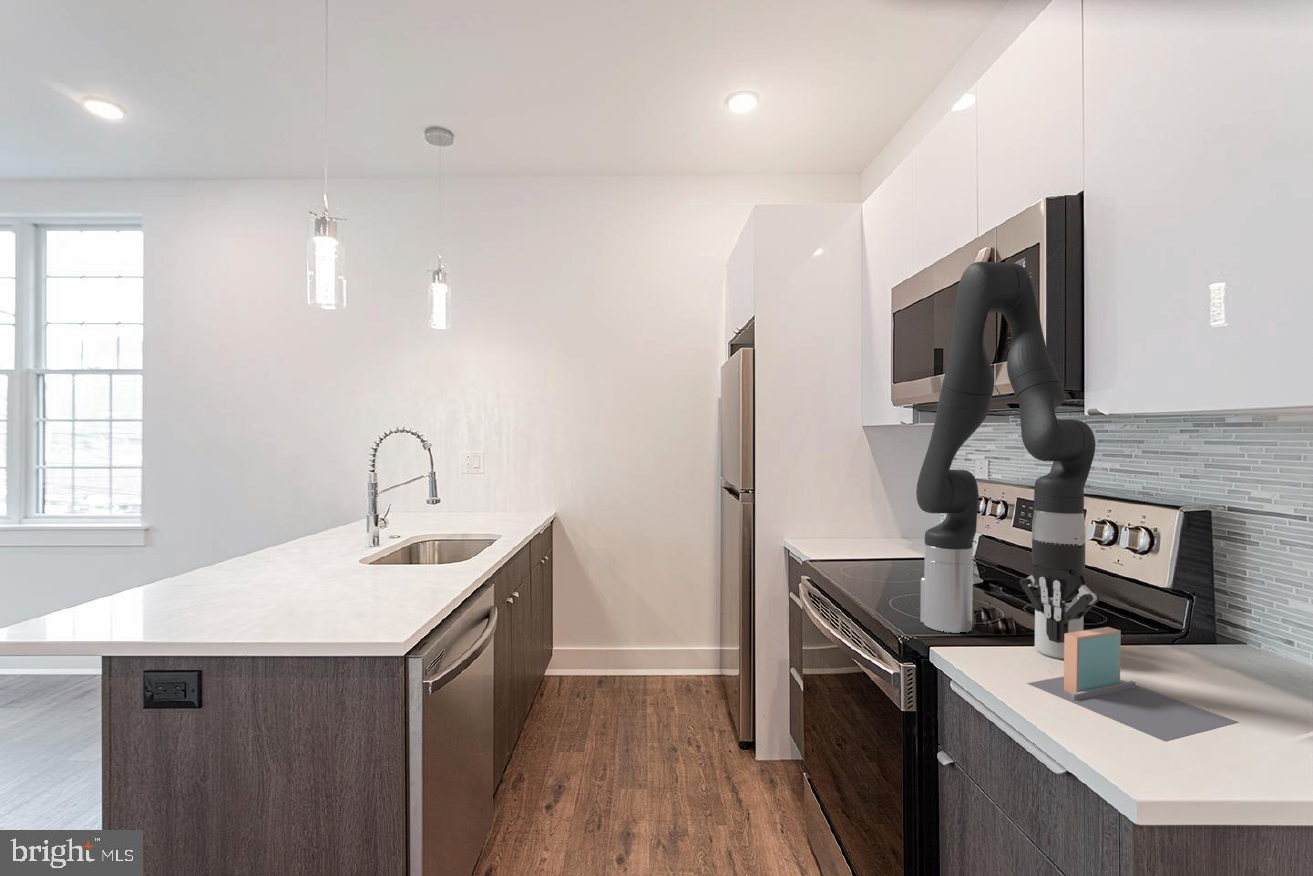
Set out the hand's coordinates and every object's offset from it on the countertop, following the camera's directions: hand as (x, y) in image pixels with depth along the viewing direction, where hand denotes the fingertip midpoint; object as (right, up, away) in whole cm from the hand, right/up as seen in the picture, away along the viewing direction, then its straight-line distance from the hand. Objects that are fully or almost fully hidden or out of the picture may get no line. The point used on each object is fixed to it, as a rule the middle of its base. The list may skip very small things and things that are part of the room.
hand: (1057, 641), depth 104 cm
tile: (+2, -6, -5) cm, 8 cm away
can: (+7, -6, +10) cm, 14 cm away
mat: (+4, -6, -10) cm, 12 cm away
